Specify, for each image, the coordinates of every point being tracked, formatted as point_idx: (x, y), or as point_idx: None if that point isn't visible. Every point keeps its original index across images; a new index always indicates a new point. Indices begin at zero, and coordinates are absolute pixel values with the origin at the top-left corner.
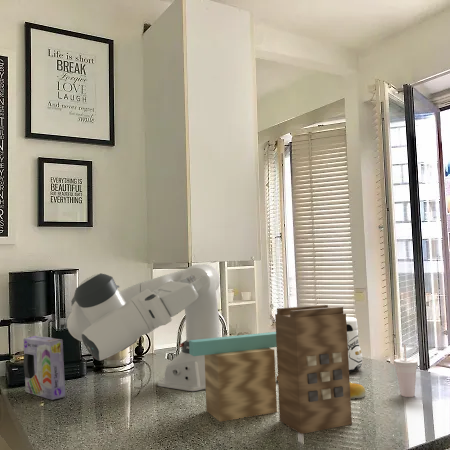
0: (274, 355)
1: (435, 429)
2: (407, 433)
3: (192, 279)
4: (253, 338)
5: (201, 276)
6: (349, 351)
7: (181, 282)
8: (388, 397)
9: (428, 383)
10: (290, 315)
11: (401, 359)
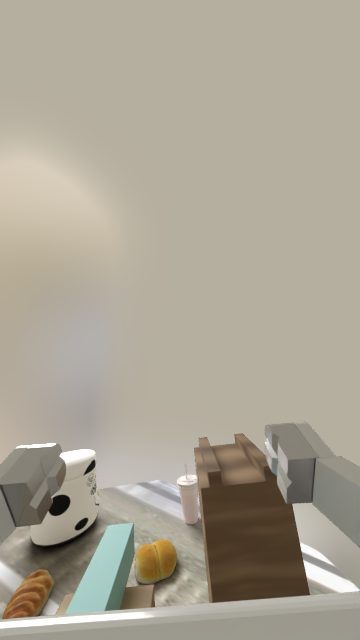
0: (154, 601)
1: (303, 551)
2: (321, 584)
3: (47, 479)
4: (112, 593)
5: (285, 432)
6: (94, 495)
7: (244, 613)
8: (188, 536)
9: (170, 494)
10: (266, 477)
11: (184, 480)
